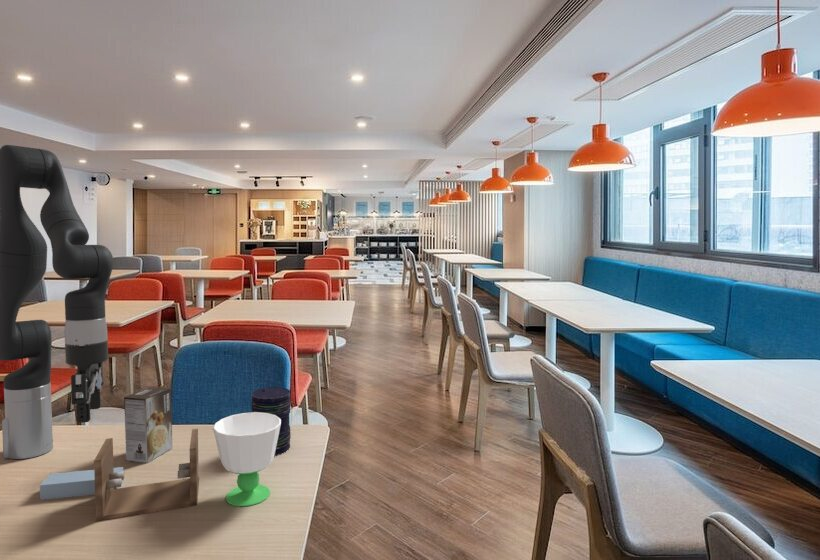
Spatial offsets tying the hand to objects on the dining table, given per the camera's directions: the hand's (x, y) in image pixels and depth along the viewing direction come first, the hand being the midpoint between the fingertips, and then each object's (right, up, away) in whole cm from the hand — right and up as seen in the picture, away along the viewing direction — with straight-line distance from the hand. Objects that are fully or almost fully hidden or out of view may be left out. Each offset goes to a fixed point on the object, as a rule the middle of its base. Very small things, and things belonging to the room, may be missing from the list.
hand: (89, 415), depth 105 cm
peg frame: (+14, -17, -2) cm, 22 cm away
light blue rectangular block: (-2, -17, +1) cm, 17 cm away
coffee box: (+3, -15, +19) cm, 25 cm away
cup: (+34, -18, 0) cm, 38 cm away
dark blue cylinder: (+32, -16, +24) cm, 43 cm away
